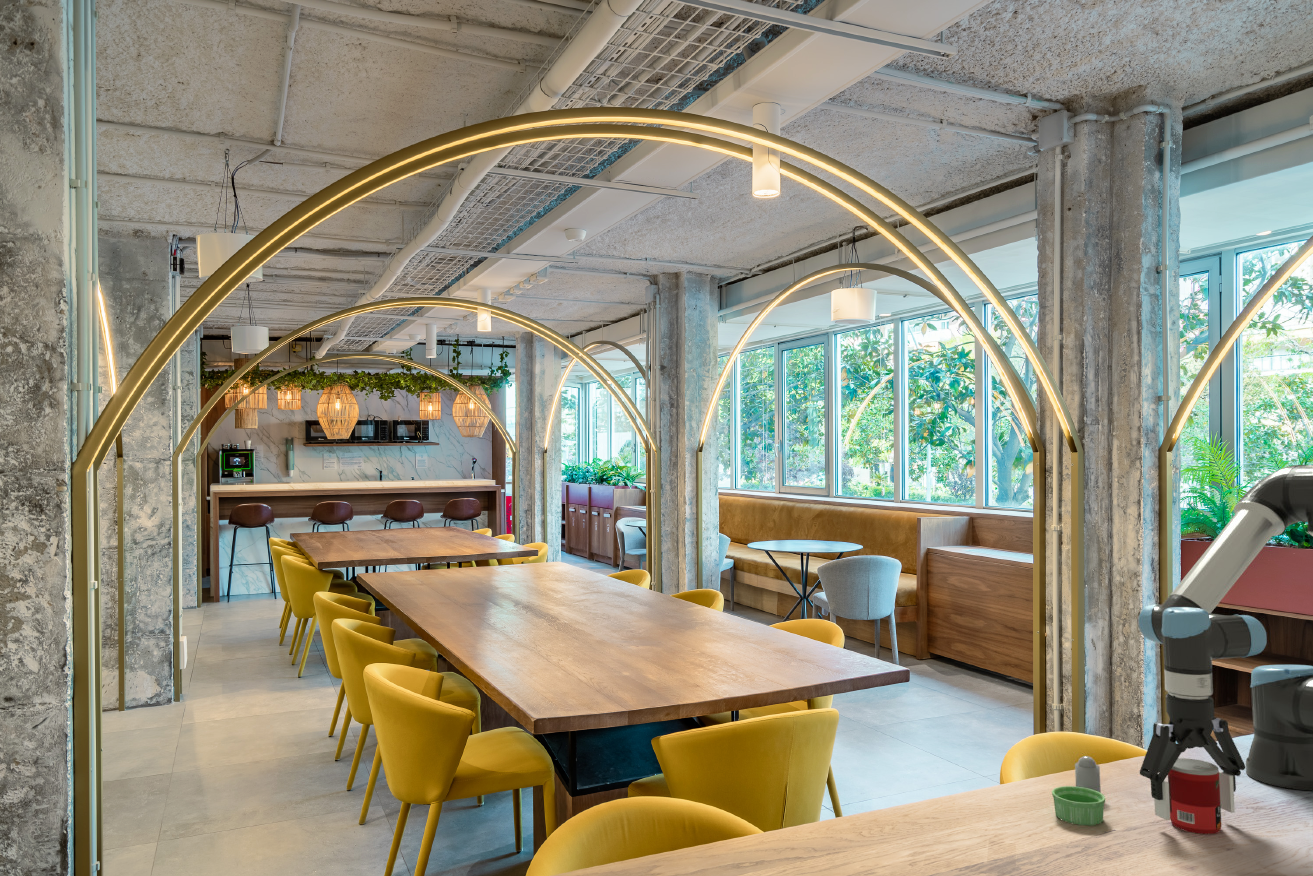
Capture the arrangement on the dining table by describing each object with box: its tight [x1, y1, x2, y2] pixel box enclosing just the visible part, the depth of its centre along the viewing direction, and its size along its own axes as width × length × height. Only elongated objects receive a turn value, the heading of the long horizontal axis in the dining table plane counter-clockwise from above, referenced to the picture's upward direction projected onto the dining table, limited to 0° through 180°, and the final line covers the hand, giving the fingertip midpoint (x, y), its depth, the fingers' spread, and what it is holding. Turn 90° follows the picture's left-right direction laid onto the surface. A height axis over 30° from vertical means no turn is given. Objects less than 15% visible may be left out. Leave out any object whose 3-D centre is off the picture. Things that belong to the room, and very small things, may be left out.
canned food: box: [1167, 757, 1222, 835], centre depth 160 cm, size 8×8×11 cm
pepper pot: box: [1074, 755, 1102, 794], centre depth 176 cm, size 4×4×8 cm
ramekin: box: [1051, 785, 1106, 827], centre depth 165 cm, size 9×9×4 cm
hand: (1195, 813), depth 160 cm, fingers open, 13 cm apart
